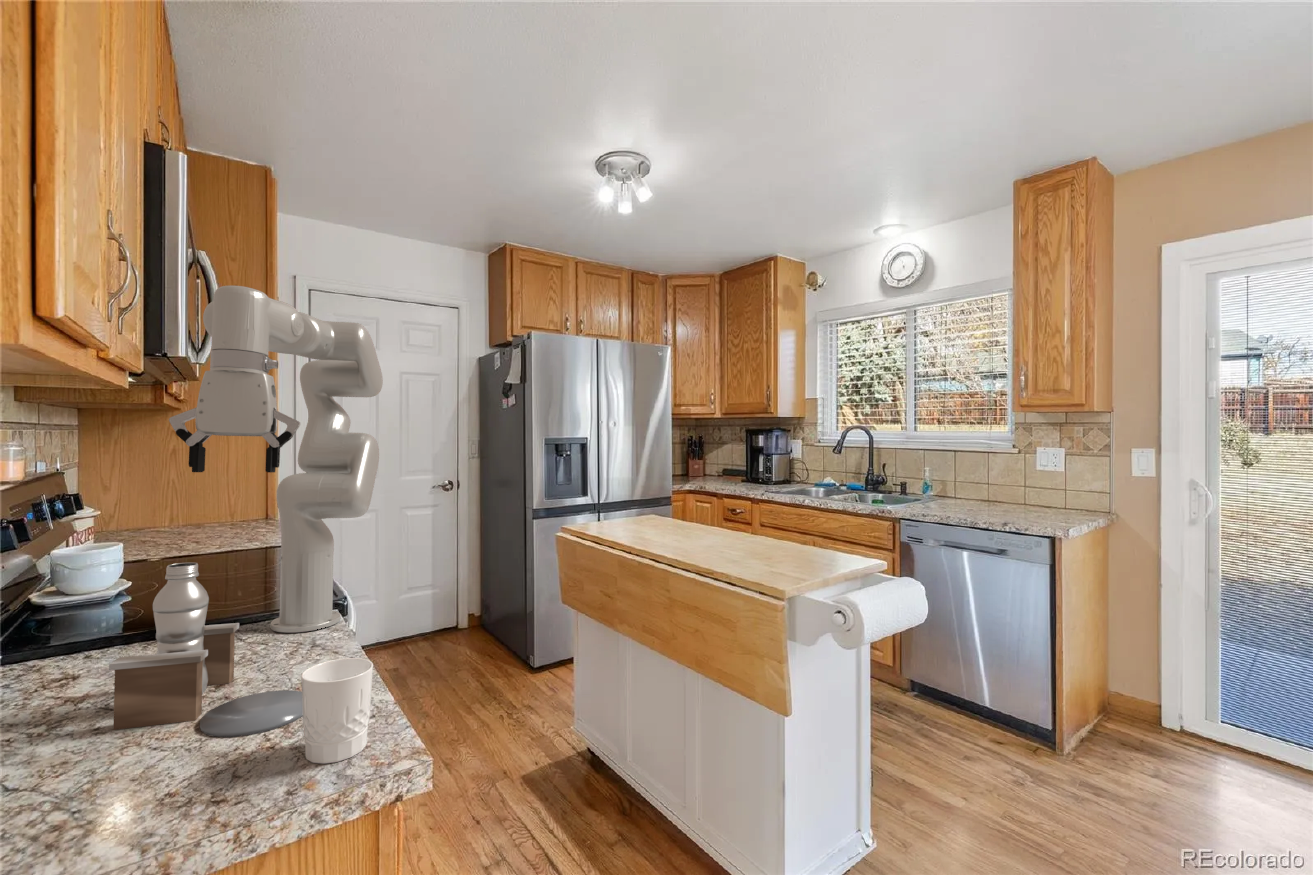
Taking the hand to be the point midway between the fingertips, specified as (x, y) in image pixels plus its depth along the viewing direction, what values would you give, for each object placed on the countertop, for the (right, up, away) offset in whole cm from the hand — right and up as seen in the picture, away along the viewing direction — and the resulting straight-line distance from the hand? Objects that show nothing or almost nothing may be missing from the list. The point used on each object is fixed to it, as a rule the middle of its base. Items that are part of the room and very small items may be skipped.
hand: (235, 472), depth 93 cm
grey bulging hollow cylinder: (-3, -33, -7) cm, 34 cm away
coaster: (+11, -33, -11) cm, 37 cm away
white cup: (+27, -34, -20) cm, 48 cm away
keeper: (-3, -33, -7) cm, 34 cm away
